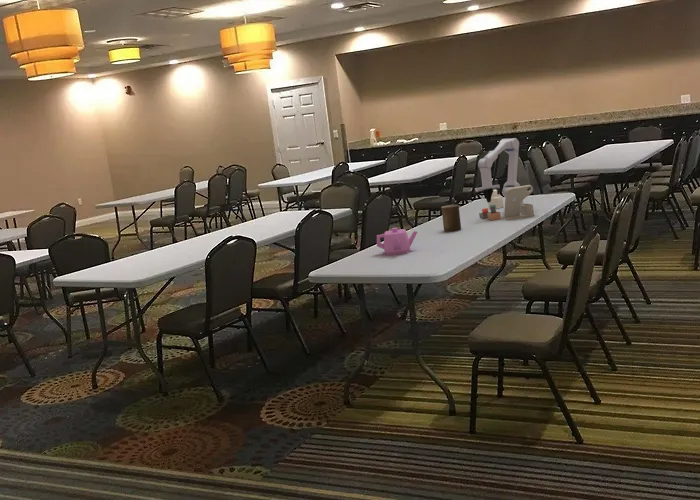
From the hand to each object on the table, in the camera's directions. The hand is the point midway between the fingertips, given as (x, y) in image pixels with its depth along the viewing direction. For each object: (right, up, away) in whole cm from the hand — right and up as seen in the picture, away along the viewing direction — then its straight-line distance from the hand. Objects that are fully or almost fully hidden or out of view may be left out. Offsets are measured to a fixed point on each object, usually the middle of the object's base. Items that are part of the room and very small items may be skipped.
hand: (488, 202), depth 424 cm
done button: (-1, -6, +6) cm, 9 cm away
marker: (+2, -10, -3) cm, 10 cm away
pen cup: (+3, -10, -3) cm, 11 cm away
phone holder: (+16, -9, -5) cm, 19 cm away
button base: (-1, -9, +7) cm, 11 cm away
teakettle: (-57, -29, -60) cm, 87 cm away
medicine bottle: (+12, -1, +39) cm, 41 cm away
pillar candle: (-24, -17, -19) cm, 35 cm away
